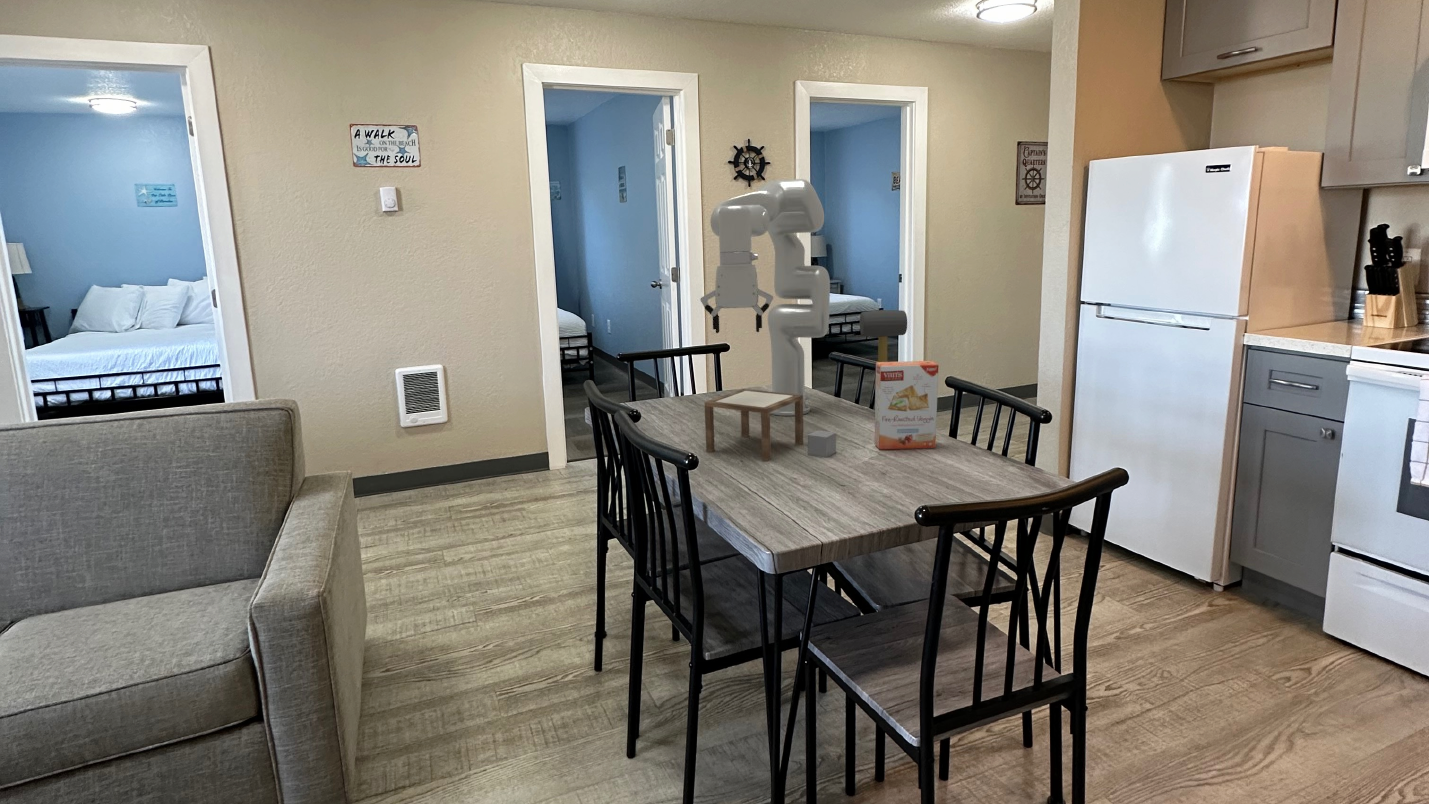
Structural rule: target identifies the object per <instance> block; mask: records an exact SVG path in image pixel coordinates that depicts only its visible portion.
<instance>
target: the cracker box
mask: <svg viewBox="0 0 1429 804" xmlns="http://www.w3.org/2000/svg"><path fill="white" fill-rule="evenodd" d="M938 387H939V364H937V362H934V361H933V360H915V361H914V360H911V361H887V362H878V361H877V362H875V389H874V390H875V395H874V397H875V398H874V445H875V446H876V448H877V449H878V450H903V449H904V450H905V449H908V450H909V449H912V450H914V449H936V438H937V436H936V435H937V412H938V392H939V391H938V389H939V388H938Z"/></svg>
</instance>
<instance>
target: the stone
mask: <svg viewBox="0 0 1429 804" xmlns="http://www.w3.org/2000/svg"><path fill="white" fill-rule="evenodd" d="M835 453H837V432H834V431H833V432H832V431H825V430H815V431H813V432H811V433H808V434H807V455H808V456H812V457H813V456H815V457H819V458H820V457H821V458H828V457H830V456H832V455H834V454H835Z"/></svg>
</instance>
